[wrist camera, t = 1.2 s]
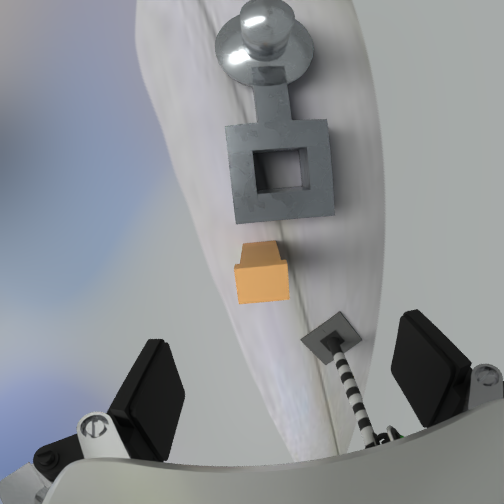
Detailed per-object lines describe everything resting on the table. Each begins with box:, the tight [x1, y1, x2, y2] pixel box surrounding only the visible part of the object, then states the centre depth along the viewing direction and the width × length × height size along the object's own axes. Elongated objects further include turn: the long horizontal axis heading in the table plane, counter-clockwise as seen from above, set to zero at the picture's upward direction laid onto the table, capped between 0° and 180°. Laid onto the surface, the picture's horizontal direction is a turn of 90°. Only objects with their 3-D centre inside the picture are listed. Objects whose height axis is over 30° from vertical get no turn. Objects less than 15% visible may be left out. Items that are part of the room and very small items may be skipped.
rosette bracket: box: [215, 0, 335, 224], centre depth 23 cm, size 26×11×10 cm, turn 6°
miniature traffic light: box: [301, 312, 404, 449], centre depth 23 cm, size 8×8×30 cm
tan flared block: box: [234, 241, 289, 304], centre depth 29 cm, size 4×5×9 cm
